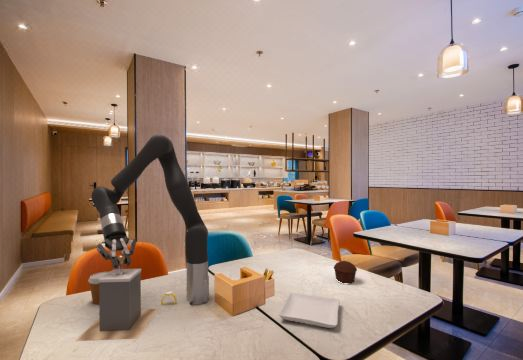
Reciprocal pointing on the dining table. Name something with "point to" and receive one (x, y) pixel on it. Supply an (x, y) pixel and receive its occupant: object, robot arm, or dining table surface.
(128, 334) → the oak board
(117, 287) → the block
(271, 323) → the dining table surface
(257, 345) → the dining table surface
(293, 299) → the salad plate
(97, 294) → the disposable coffee cup
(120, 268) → the plunger
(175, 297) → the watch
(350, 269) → the muffin
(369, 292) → the dining table surface
